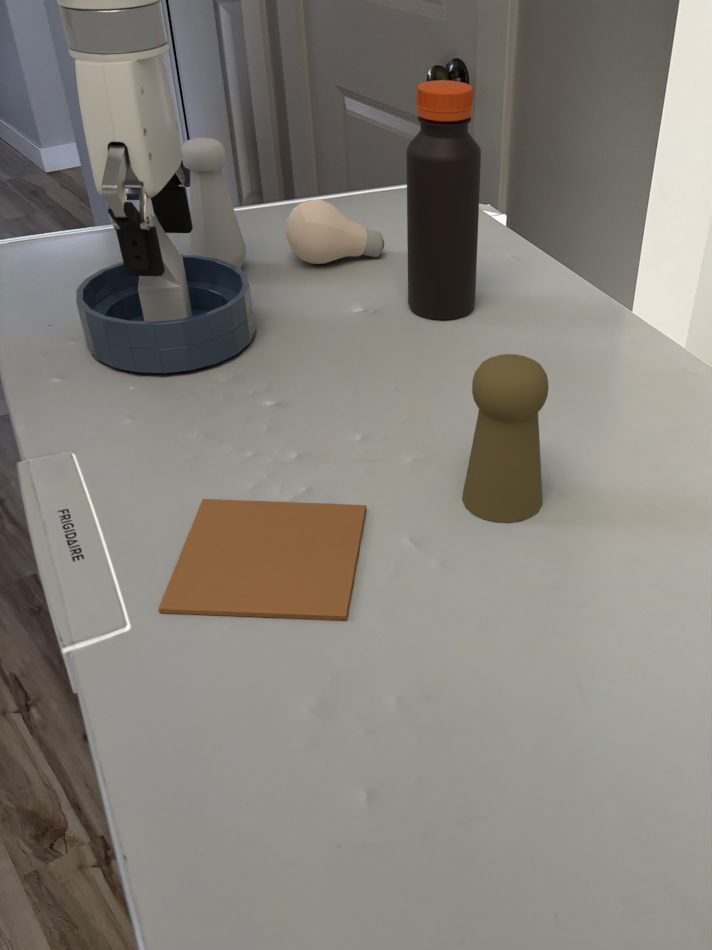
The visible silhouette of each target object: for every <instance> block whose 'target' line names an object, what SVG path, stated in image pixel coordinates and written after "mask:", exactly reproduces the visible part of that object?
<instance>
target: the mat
mask: <svg viewBox="0 0 712 950" xmlns="http://www.w3.org/2000/svg"><path fill="white" fill-rule="evenodd" d="M366 512H367V505H366V504H353V503H352V504H349V503H348V504H347V503H346V504H345V503H326V502H325V503H323V502H322V503H321V502H319V503H318V502H300V501H299V502H297V501H272V500H271V501H270V500H269V501H268V500H246V499H243V500H242V499H220V498H219V499H217V498H215V499H214V498H202V499H201V501H200V504H199V507H198V509H197V512H196V515H195V517H194V520H193V522H192V525H191V527H190V530H189V532H188V534H187V537H186V539H185V541H184V544H183V547H182V549H181V551H180V554H179V556H178V558H177V561H176V564H175V566H174V568H173V571H172V573H171V577H170V579H169V581H168V584H167V586H166V589H165V591H164V593H163V595H162V597H161V601H160V603H159V606H158V613H159V614H177V615H178V614H179V615H200V616H201V615H205V616H227V617H228V616H229V617H253V618H276V619H277V618H278V619H301V620H302V619H303V620H327V621H328V620H331V621H347V620H348V614H349V610H350V602H351V599H352V593H353V586H354V580H355V575H356V570H357V564H358V558H359V551H360V547H361V540H362V535H363V529H364V524H365V518H366Z"/></svg>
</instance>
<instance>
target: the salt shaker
mask: <svg viewBox="0 0 712 950" xmlns="http://www.w3.org/2000/svg"><path fill="white" fill-rule="evenodd" d="M181 153H182V160H181V162H182V164H183V167H184V168H186V169H187V170H189V209H190V215H191V220H192V226H193V229H192V231H191V232H190V233H189V249H190V255H198V256H203V257H209V258H215V259H219V260H222V261H224V262H227V263H230V264H232V265H235V266H236V267H238V268H239V269H240V270H241V271H242V268H243V265H244V262H245V257H246V255H247V246H246V243H245V239H244V236H243V234H242V231H241V228H240V225H239V221H238V218H237V215H236V212H235V209H234V205H233V201H232V198H231V196H230V193H229V189H228V187H227V182H226V180H225V176H224V174H223V170H222V169H223V168H224V167H225V166H226V164H227V154H226V150H225V146H224V144H223V143H222V142H220V140H217V139H216V138H210V137H195V138H191V139H188V140H186V141H184V142H183V144H182V145H181Z"/></svg>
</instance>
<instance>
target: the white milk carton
mask: <svg viewBox="0 0 712 950" xmlns="http://www.w3.org/2000/svg"><path fill="white" fill-rule="evenodd" d="M151 226H156V230H157V235H158V240H159V245H160V250H161V254H162V259H163V264H164V269H165V271H164V273H163V275H162V276H139V284H138V293H139V297H140V302H141V307H142V312H143V316H144V321H152V322H156V321H166V320H176V319H183V318H187V317H191V316H193V315H192V309H191V303H190V298H189V292H188V286H187V280H186V274H185V269H184V263H183V257H182V256H181V255H182V254H181V252H180V251H179V250H178V248H177V247H176V245H175V244H174V243H173V242H172V240H171V238H170V237H169V235H168V233H165V231H164V230H163V228H162V226H161V225H160V223H159V222H158V219H157V217H156V215H155V214H154V213H153V215H152V214H151Z"/></svg>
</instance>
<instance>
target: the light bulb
mask: <svg viewBox="0 0 712 950" xmlns="http://www.w3.org/2000/svg"><path fill="white" fill-rule="evenodd" d="M285 228H286V229H285V238H286V240H287V243H288V245H289V247H290V249H291V251H292V252H293V254H295V255H296V256H297V258H298V259H300V260H301V261H304V262H307V263H309V264H311V265H320V264H321V265H323V264H325V265H326V264H328V263H330V262H334V261H336V260H340V259H343V258H346V257H360V256H366V257H371V258H378V257H379V256H380V254H381V253H382V252H383V251H384V248H385V240H384V238H383V234H382V232H381V231H380V230H374V229H370V228H365V226H364V225H363V224H360V223H358V222H354V221H353V220H352V219H350V218H349V217H347V216H346V215H345V214H344V213H343V212H341V211H340V210H339V209H338V208H337V207H336V206H335V205H333V204H332V203H330V202H327V201H325V200H323V199H307V200H305V201H302V202H300V203H298V204H297V205H296V206H295V207H294V208H293V209H291V211H290V213H289V216H288V218H287V220H286V227H285Z"/></svg>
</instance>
